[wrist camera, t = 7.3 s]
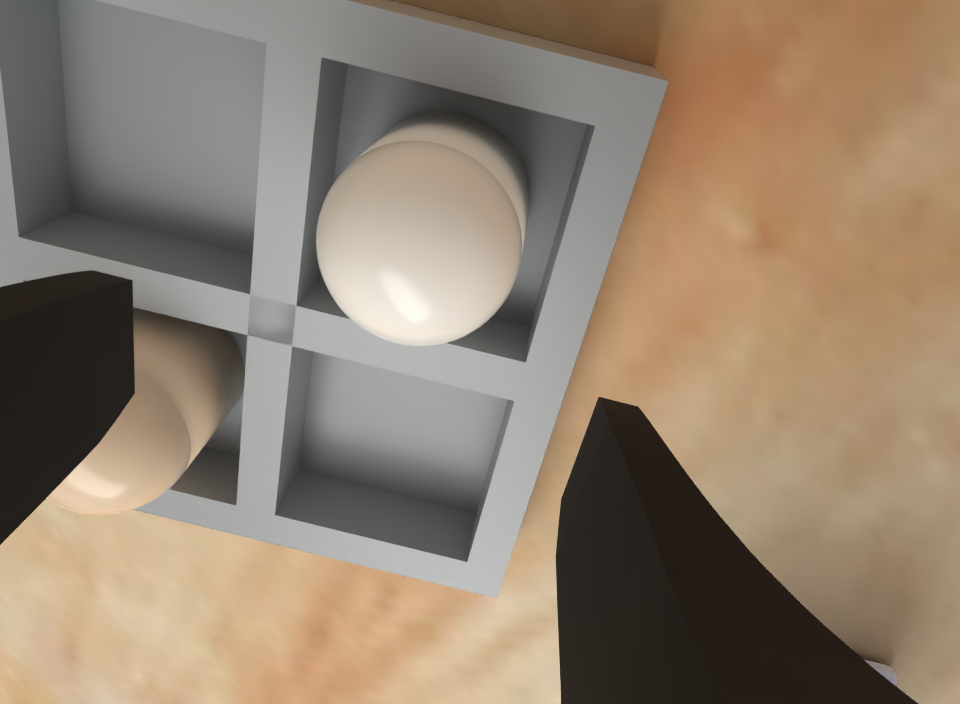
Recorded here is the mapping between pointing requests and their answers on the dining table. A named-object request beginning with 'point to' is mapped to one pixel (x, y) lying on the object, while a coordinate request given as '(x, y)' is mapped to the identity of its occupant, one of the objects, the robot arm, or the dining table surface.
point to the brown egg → (159, 416)
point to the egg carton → (293, 254)
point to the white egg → (426, 229)
